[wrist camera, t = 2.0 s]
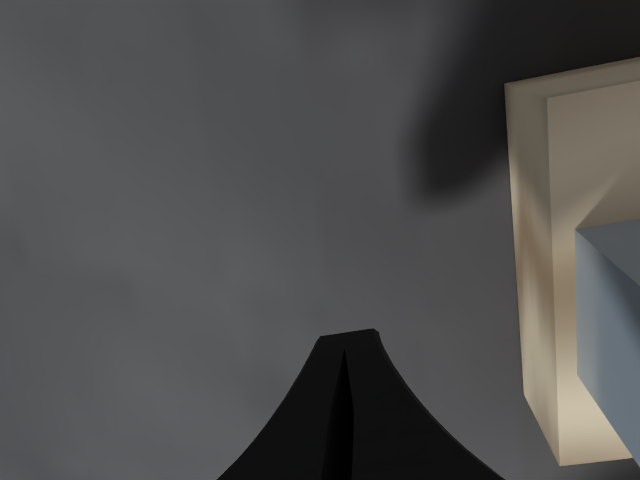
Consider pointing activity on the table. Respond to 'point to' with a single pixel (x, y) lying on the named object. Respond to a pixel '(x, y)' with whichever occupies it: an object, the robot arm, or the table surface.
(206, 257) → the table surface
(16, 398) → the table surface
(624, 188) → the beige piece
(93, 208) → the table surface
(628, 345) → the blue-grey cube
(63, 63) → the table surface
